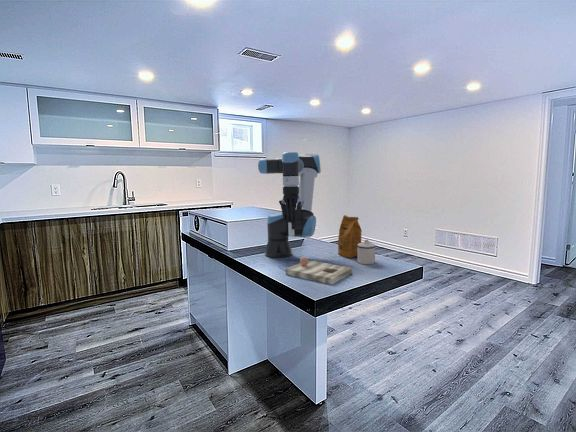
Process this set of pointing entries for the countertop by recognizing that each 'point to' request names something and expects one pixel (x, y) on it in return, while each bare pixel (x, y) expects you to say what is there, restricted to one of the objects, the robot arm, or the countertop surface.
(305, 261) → the ball
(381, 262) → the countertop surface
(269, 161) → the robot arm
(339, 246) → the coffee package
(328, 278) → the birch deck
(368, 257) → the teacup with lid
